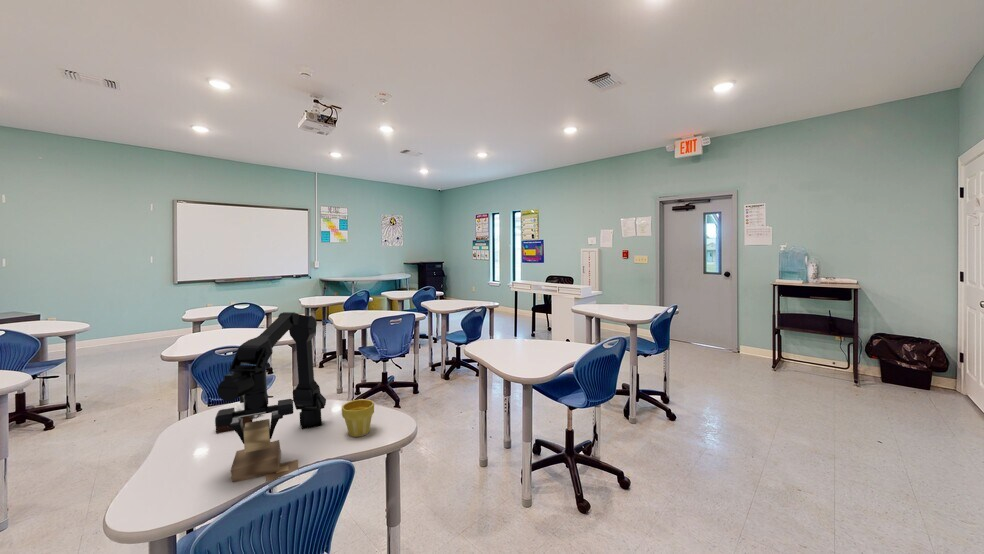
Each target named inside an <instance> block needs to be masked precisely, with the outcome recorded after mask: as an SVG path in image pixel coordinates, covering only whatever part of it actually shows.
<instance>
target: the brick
mask: <svg viewBox="0 0 984 554" xmlns="http://www.w3.org/2000/svg"><path fill="white" fill-rule="evenodd" d="M242 419H243V427H244V428H245V423H248V422H254V421H253V416H249V417H243V418H242ZM232 431H235V430H234V429H233V428H228V425H227V426H221V427H215V433H216V434H221V433H226V432H232Z"/></svg>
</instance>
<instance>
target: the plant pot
mask: <svg viewBox="0 0 984 554" xmlns="http://www.w3.org/2000/svg"><path fill="white" fill-rule="evenodd" d="M374 413H375V402H374V401H373V400H371V399H361V398H360V399H354V400H350V401H348V402H345V403H343V404H342V406H341V416H342V418H343V419H344V420H345V421H344V422H345V425H346V428H347V432H348V435H349V436H350V437H355V438H357V437H358V436H359V437H362V436H363V437H364V436H366V435H368V433H370V428H371V424H372V423H371V422H372V418H373V415H374ZM365 434H366V435H365Z"/></svg>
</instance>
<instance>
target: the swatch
mask: <svg viewBox="0 0 984 554" xmlns="http://www.w3.org/2000/svg"><path fill="white" fill-rule="evenodd" d="M296 469H298V470H299V459H295V460H291V461H285V462H282V463H281V462H280V467H279V471H276V472H273V473H269V474H266V475H265V482H271V481H274V479H275V480H277V479H276V478H278V477H281V476H283V475H285V474H288V473H289V472H292V471H294V470H296Z"/></svg>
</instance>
